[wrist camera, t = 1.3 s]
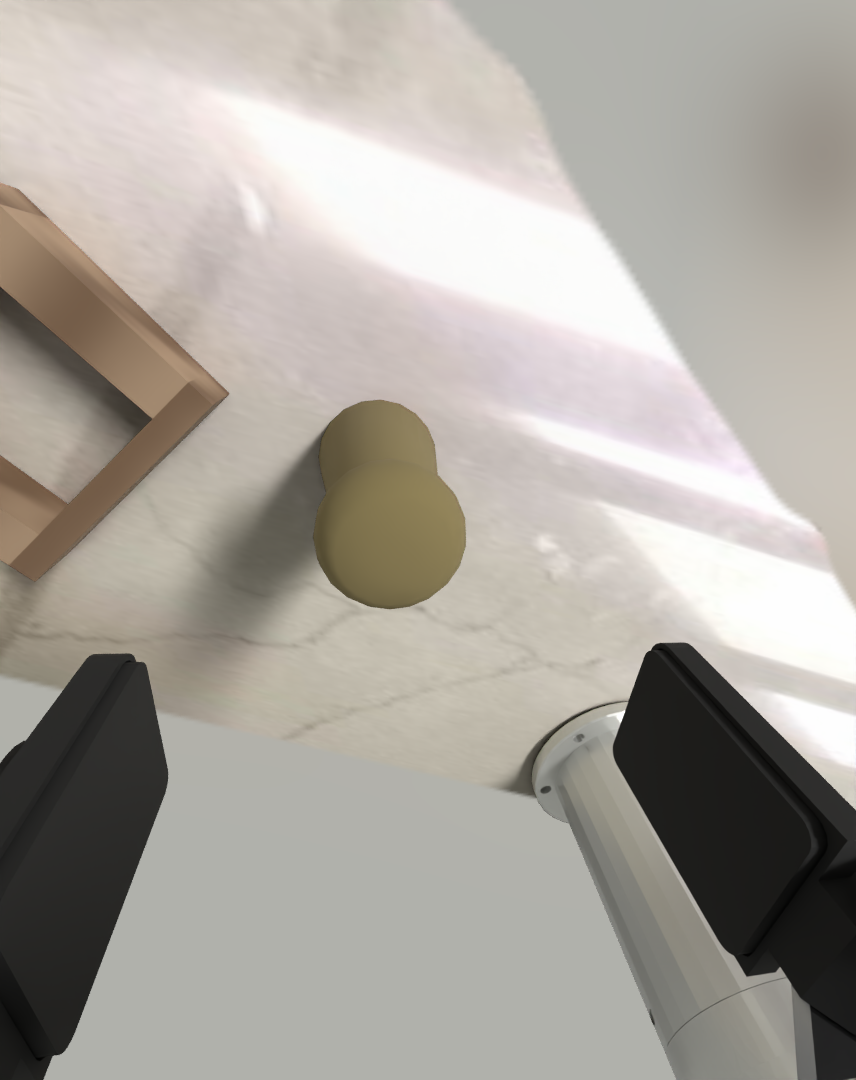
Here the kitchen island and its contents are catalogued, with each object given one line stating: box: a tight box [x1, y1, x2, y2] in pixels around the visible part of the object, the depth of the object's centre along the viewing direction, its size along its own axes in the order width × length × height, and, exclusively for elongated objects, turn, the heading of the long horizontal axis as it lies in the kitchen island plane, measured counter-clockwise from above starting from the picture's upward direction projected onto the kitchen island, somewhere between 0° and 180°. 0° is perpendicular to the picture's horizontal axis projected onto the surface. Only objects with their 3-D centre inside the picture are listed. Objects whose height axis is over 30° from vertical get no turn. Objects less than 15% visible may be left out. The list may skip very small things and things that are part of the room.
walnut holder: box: [0, 183, 229, 582], centre depth 20 cm, size 10×12×3 cm
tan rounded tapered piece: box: [313, 400, 466, 609], centre depth 20 cm, size 6×6×11 cm
